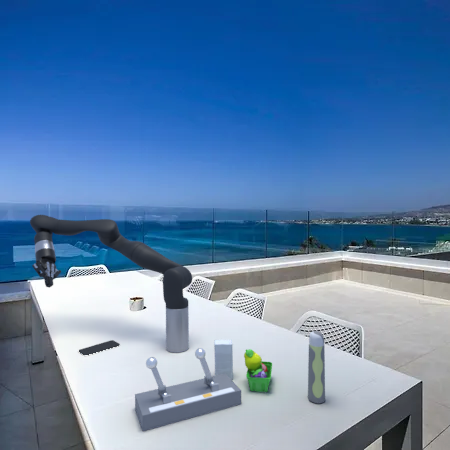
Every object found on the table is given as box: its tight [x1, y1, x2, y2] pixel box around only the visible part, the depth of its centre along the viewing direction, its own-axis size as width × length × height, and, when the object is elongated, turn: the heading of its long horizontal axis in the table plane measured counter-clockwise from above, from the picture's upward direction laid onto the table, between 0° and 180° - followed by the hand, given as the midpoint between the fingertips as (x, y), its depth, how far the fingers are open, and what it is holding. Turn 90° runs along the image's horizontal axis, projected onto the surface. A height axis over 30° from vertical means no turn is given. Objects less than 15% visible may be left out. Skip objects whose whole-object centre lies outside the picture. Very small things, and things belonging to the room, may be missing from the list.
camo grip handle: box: [307, 330, 326, 404], centre depth 95 cm, size 5×5×20 cm
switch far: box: [194, 347, 215, 387], centre depth 95 cm, size 4×3×12 cm
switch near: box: [145, 356, 168, 398], centre depth 89 cm, size 4×3×12 cm
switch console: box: [134, 374, 242, 432], centre depth 93 cm, size 11×28×6 cm, turn 115°
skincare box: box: [213, 339, 234, 381], centre depth 109 cm, size 6×4×12 cm
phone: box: [78, 339, 121, 356], centre depth 134 cm, size 7×1×15 cm
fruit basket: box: [243, 348, 273, 393], centre depth 104 cm, size 11×9×11 cm
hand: (49, 286), depth 132 cm, fingers closed
